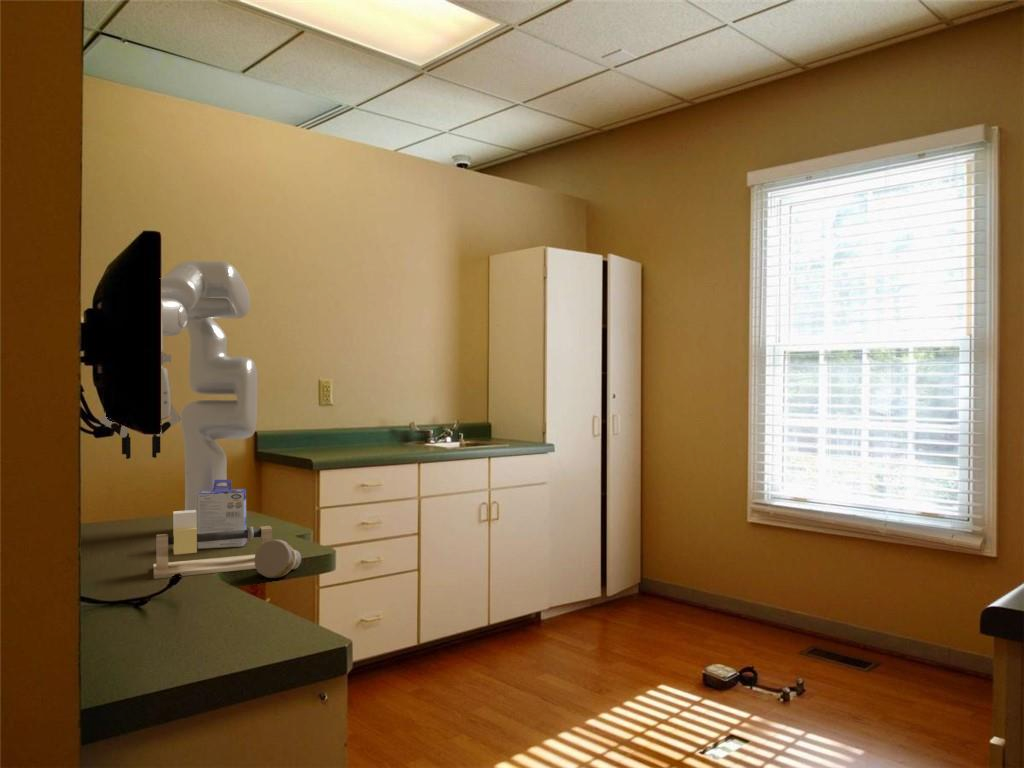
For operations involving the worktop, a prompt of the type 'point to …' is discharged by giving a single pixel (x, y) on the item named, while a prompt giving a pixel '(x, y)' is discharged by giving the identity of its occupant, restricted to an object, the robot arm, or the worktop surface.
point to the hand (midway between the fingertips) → (141, 456)
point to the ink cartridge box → (221, 514)
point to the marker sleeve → (185, 532)
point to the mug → (276, 558)
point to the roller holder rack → (208, 565)
